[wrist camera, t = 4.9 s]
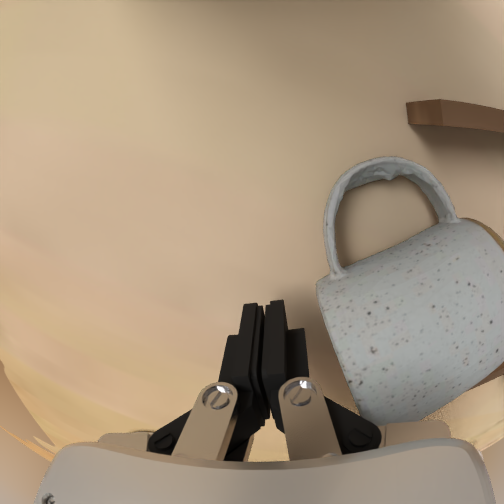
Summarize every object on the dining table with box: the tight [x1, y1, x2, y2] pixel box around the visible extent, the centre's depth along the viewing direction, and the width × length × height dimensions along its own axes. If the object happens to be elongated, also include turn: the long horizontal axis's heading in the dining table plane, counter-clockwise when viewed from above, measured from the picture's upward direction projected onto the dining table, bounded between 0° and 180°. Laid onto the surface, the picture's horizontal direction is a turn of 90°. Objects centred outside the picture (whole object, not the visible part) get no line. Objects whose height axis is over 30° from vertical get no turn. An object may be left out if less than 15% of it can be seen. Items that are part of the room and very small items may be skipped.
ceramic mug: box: [316, 156, 504, 426], centre depth 9 cm, size 11×8×8 cm
